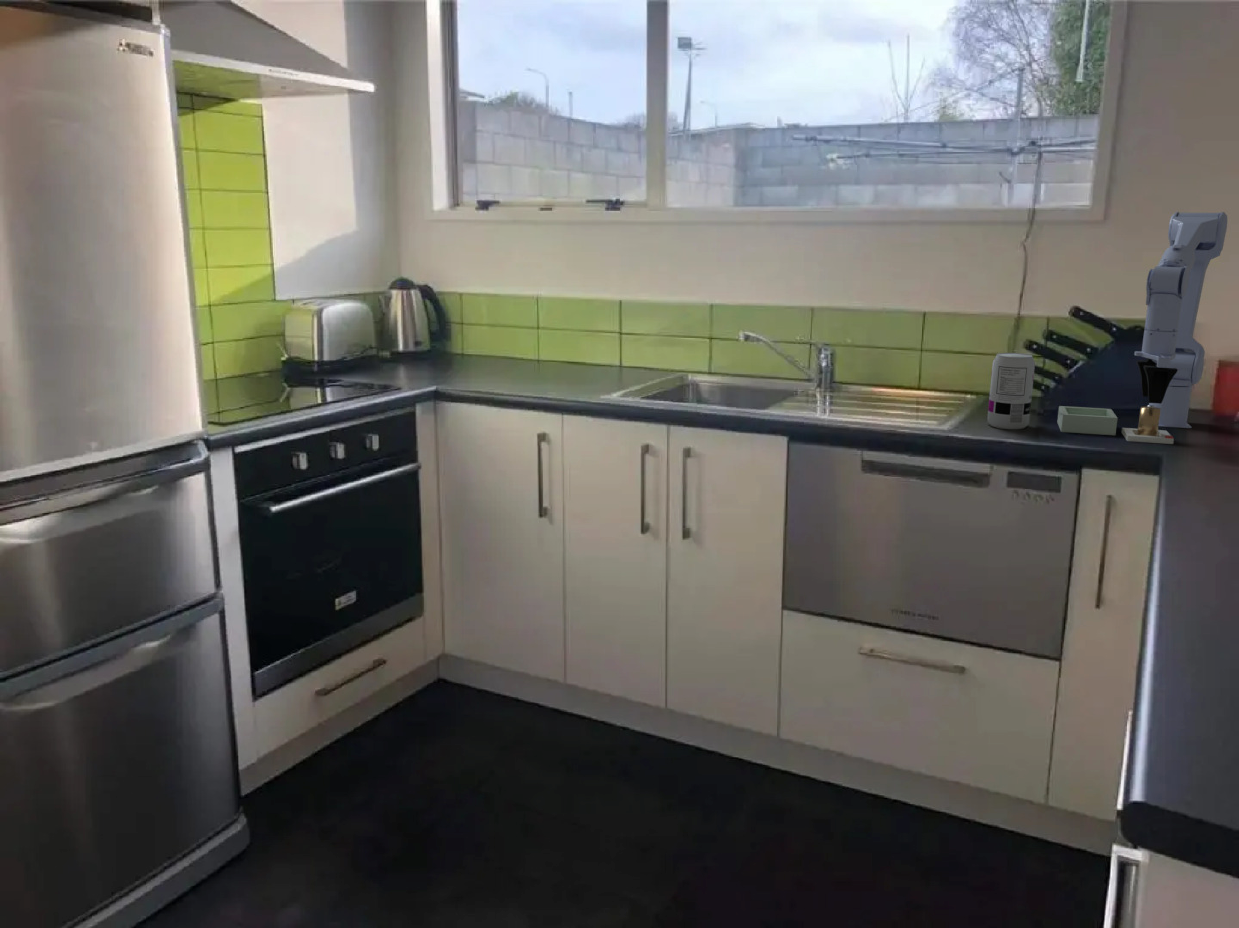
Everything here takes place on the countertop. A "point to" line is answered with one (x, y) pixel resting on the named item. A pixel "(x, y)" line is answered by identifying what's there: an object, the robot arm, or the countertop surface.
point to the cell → (1149, 421)
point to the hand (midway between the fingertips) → (1151, 399)
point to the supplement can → (1011, 390)
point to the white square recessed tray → (1161, 436)
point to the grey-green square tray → (1087, 420)
